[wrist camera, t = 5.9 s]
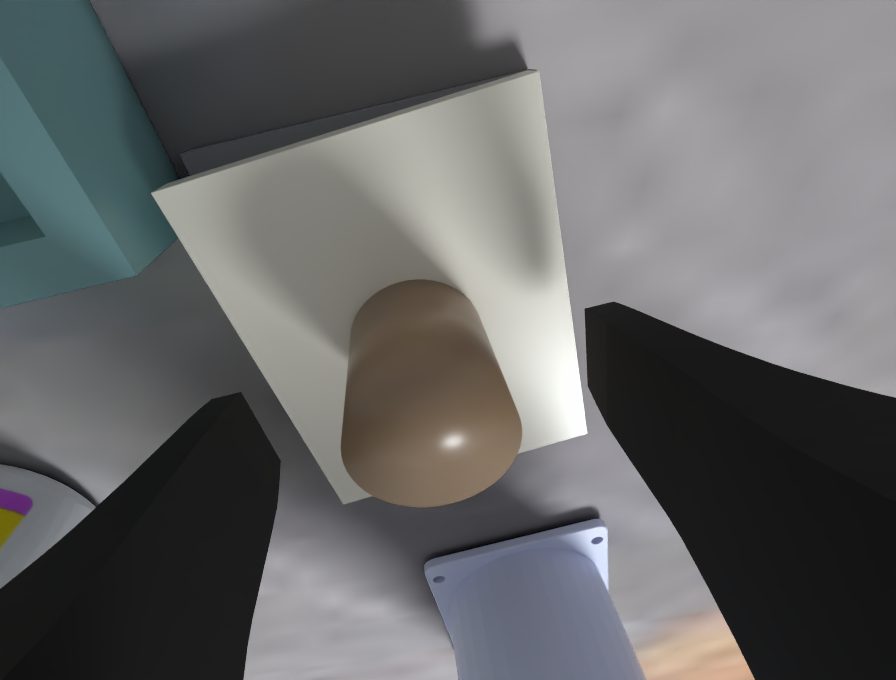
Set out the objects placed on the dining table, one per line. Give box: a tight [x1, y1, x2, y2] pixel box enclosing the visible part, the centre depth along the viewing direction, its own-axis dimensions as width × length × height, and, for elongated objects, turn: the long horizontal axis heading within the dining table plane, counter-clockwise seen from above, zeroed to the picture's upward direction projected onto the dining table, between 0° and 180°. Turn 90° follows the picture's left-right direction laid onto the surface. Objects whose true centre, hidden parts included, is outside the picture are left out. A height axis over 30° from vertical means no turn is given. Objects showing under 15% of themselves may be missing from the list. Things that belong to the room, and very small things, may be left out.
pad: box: [180, 69, 537, 176], centre depth 13 cm, size 10×8×1 cm
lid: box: [151, 70, 587, 507], centre depth 10 cm, size 10×8×5 cm
